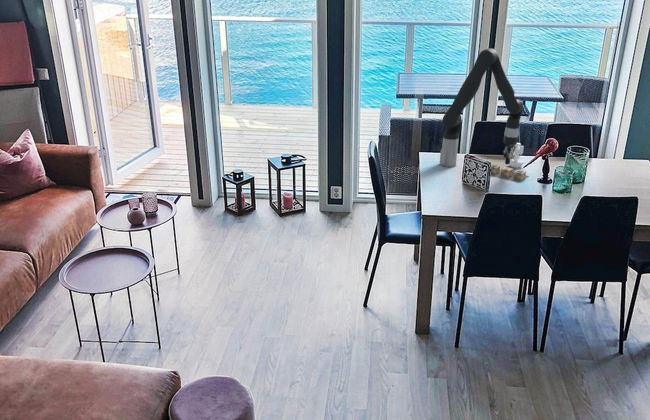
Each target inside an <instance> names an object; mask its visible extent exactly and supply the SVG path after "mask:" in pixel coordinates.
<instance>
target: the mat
mask: <svg viewBox="0 0 650 420" xmlns="http://www.w3.org/2000/svg"><path fill="white" fill-rule="evenodd" d="M490 177H494V178H498V179H503V180H506V181H511V182H515V183H521V182H523V181H524V180H526V179H527V178H529V177H530V176H529V175H526V177H525V179H523V180H518V179H514V172H513V173H512V175H511V176H510V177H505V176H501V169H500V172H499V173H497V174H493V173H491V176H490Z"/></svg>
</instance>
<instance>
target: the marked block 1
mask: <svg viewBox="0 0 650 420" xmlns="http://www.w3.org/2000/svg"><path fill="white" fill-rule="evenodd" d="M490 165H491V173H493V174H497V173H499V172H500V170H501V165H499V164H495V163H491V164H490Z"/></svg>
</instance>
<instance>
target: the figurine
mask: <svg viewBox="0 0 650 420" xmlns="http://www.w3.org/2000/svg"><path fill="white" fill-rule="evenodd" d="M514 146H515V147H516V148H515V151H514V153H513V158H512V159H510V164H508V165H509V166H510V167H511V168H513V169H514V168H515V169H517V168H521V167H522V166H523V165H524V163H525V162H524V161H522V160H521V159H520V156H521V155H523V153H524V148H525V146H524V145H522V144H521V143H520V142H517V144H515V145H514Z"/></svg>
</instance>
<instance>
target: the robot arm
mask: <svg viewBox="0 0 650 420" xmlns="http://www.w3.org/2000/svg"><path fill="white" fill-rule="evenodd" d="M488 69H490V71H491V72H492V74H493V77H494V80H495V85H496V87H497V89H498V91H499V94H500V96H501V97H502V99H503V102H504V105H505V108H506V110H507V111H508V113H509V115H508V117H507V119H506V124H505V129H504V135H503V144H505V146H504V149H503V150H502V155H503V157H504V158H505V162H504V163H505V164H506V165H509V164H510V160H511V158H512V157H514V155H513V153H514V151H515V148H516V147H515V145H516V144H517V143H518V140H519V131H520V130H519V129H520V121H521V118H522V114H523V110H524V104H523V101H522V100H521V99H517V98H516V96H515V94H516V93H515V89H514V88H513V86H512V84H511V82H510V81H509V79H508V77H507V75H506V72H505V70H504V67H503V66H502V61H501V59H500V57H499V55H498V52H497V51H496V49H494V48H491V47H489V48H486V49H483V50H482V51H480V52H479V54H478V55H477V58H476V60H475V62H474V64H473V67H472V69H471V71H470V72H469V74H468V75H467V77H466V79H465V80H464V81H463V83H462V85H461V86H460V88H459V90H458V92H457V94H456V96H455V98H454V100H453V102H452V104H451V106H450V107H449V108H448V110H447V111H446V112H445V114H444V115H443V117H442V124H443V126H444V127H445V129H444V131H443V134H442V135H443V136H442V145H441V147H442V148H441V149H440V155H439V165H441V166H443V167H445V168H446V167H447V168H453V167H456V166H457V161H458V159H457V158H458V147H459V139H460V138H459V137H460V134H461V129H462V120H463V119H462V112H463V111H464V110H465V108H466V107H467V106H468V105H469V104H470V103H471V102H472V100H473V99H474V97H475V96H476V94H477V93H478V91H479V89H480V86H481V83H482V79H483V77H484V74H485V73H486V72H487V70H488Z"/></svg>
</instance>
